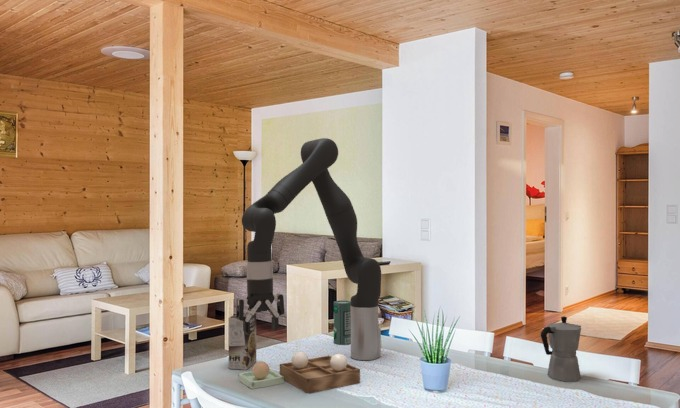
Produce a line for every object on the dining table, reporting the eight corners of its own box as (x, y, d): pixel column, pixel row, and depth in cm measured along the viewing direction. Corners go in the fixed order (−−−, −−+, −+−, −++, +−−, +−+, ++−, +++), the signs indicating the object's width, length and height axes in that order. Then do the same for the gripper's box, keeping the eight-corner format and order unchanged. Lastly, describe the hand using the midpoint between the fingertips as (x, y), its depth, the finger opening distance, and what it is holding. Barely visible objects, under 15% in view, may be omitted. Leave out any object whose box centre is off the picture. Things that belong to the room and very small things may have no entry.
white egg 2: (341, 367, 177) (341, 350, 177) (350, 371, 172) (350, 354, 172) (326, 370, 174) (326, 353, 174) (335, 374, 170) (335, 357, 170)
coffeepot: (567, 370, 183) (567, 311, 183) (592, 378, 175) (593, 317, 175) (529, 377, 177) (529, 316, 176) (553, 386, 168) (554, 322, 168)
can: (340, 339, 222) (340, 299, 222) (354, 342, 219) (353, 301, 218) (330, 343, 217) (330, 302, 217) (344, 345, 214) (344, 304, 214)
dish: (269, 374, 180) (269, 368, 180) (283, 383, 172) (283, 376, 172) (238, 379, 175) (238, 373, 175) (251, 389, 167) (251, 382, 167)
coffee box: (247, 370, 185) (247, 318, 184) (227, 369, 186) (227, 317, 186) (257, 362, 194) (256, 312, 193) (238, 361, 195) (238, 311, 195)
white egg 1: (303, 365, 179) (303, 348, 179) (311, 369, 175) (311, 352, 175) (288, 367, 177) (288, 350, 177) (296, 371, 172) (296, 354, 172)
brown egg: (265, 374, 177) (265, 358, 177) (272, 379, 173) (272, 362, 173) (249, 377, 174) (249, 360, 174) (256, 382, 170) (256, 365, 170)
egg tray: (329, 368, 186) (329, 355, 186) (359, 382, 172) (359, 369, 172) (279, 377, 177) (279, 364, 177) (307, 393, 163) (307, 379, 163)
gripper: (276, 272, 180) (277, 326, 180) (231, 277, 172) (233, 333, 173) (287, 275, 173) (288, 331, 174) (242, 280, 166) (243, 338, 166)
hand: (261, 332), depth 173 cm, fingers open, 8 cm apart
